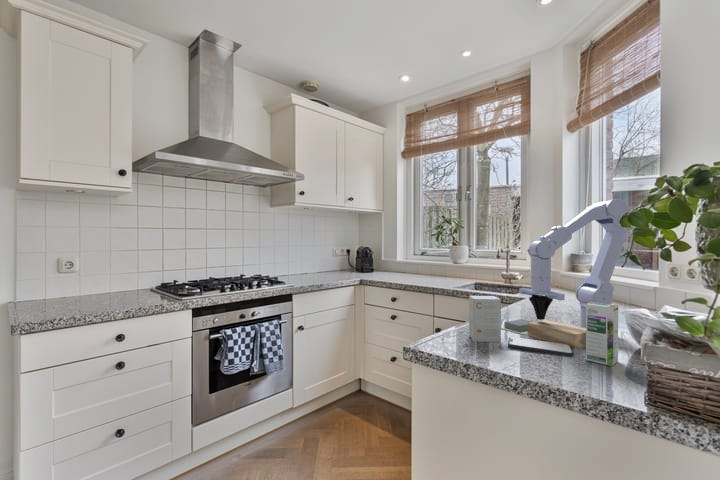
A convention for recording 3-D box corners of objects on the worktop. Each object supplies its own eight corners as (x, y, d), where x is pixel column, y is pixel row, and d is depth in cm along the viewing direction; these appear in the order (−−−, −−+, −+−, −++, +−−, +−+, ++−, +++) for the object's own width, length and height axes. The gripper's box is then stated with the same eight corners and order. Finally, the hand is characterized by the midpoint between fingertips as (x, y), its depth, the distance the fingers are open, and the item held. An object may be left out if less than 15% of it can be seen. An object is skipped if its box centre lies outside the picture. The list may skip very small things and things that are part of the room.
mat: (523, 324, 123) (523, 323, 123) (546, 330, 115) (546, 329, 115) (499, 328, 117) (499, 327, 117) (522, 334, 109) (522, 333, 109)
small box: (494, 336, 107) (494, 295, 107) (501, 342, 101) (501, 299, 101) (468, 336, 108) (468, 295, 108) (473, 341, 102) (473, 298, 102)
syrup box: (584, 360, 86) (585, 303, 86) (592, 355, 90) (592, 301, 90) (612, 367, 82) (612, 306, 82) (618, 361, 85) (619, 304, 86)
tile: (537, 322, 116) (537, 328, 116) (521, 319, 122) (521, 324, 122) (519, 325, 112) (519, 331, 112) (504, 321, 117) (504, 327, 117)
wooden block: (547, 331, 113) (547, 319, 113) (595, 343, 100) (595, 330, 100) (527, 335, 109) (527, 322, 109) (575, 348, 96) (575, 334, 96)
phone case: (570, 350, 96) (509, 341, 103) (570, 344, 96) (509, 336, 103) (574, 360, 88) (507, 349, 95) (574, 353, 88) (507, 344, 95)
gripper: (513, 275, 115) (513, 315, 115) (554, 280, 102) (554, 325, 102) (527, 275, 118) (527, 313, 118) (568, 279, 105) (568, 323, 105)
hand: (540, 319), depth 110 cm, fingers closed
